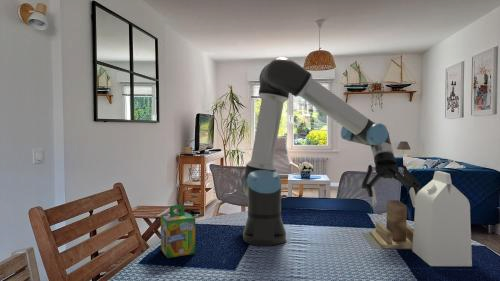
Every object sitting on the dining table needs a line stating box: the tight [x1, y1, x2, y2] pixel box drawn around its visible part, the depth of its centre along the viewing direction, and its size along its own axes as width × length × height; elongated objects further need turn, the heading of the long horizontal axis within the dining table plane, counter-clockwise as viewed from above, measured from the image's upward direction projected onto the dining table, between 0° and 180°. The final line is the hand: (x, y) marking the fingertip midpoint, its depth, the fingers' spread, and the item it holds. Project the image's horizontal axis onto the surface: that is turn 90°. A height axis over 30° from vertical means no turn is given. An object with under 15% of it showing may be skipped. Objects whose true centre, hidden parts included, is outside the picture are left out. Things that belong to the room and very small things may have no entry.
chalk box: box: [160, 204, 196, 259], centre depth 113 cm, size 9×9×15 cm
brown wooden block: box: [385, 199, 408, 242], centre depth 121 cm, size 4×8×12 cm, turn 176°
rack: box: [369, 221, 414, 250], centre depth 122 cm, size 14×15×4 cm
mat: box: [360, 232, 410, 250], centre depth 122 cm, size 20×16×1 cm
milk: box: [411, 170, 473, 267], centre depth 105 cm, size 12×12×26 cm
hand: (395, 204), depth 123 cm, fingers open, 13 cm apart
